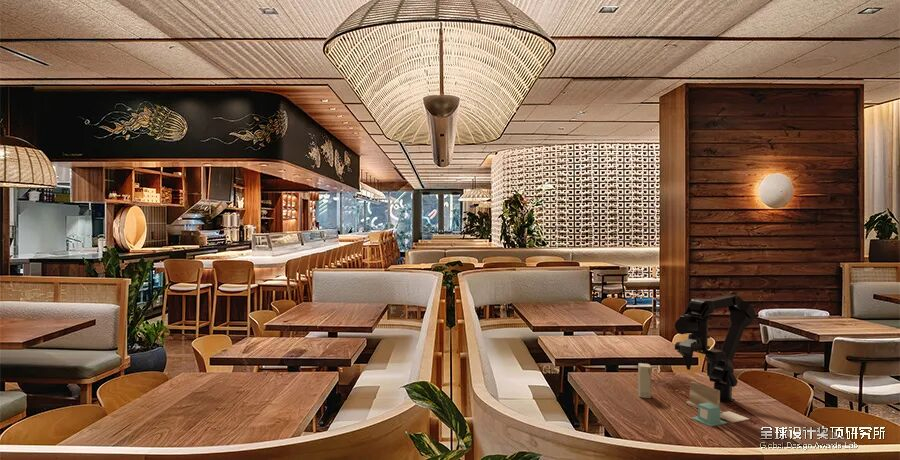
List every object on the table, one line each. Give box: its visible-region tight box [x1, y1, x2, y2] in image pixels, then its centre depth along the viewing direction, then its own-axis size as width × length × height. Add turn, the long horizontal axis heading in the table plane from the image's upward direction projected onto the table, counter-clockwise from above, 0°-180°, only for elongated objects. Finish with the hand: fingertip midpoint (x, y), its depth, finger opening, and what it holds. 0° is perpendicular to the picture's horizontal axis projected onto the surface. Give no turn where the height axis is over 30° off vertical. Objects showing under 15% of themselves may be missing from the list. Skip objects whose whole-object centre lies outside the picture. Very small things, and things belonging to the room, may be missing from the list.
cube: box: [697, 403, 722, 423], centre depth 193 cm, size 5×5×5 cm
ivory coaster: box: [720, 410, 750, 423], centre depth 197 cm, size 8×8×1 cm
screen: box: [685, 381, 724, 413], centre depth 205 cm, size 4×13×8 cm, turn 24°
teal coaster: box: [691, 415, 728, 427], centre depth 193 cm, size 8×8×1 cm
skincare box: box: [637, 362, 652, 399], centre depth 220 cm, size 6×4×12 cm
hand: (698, 372), depth 211 cm, fingers open, 9 cm apart
